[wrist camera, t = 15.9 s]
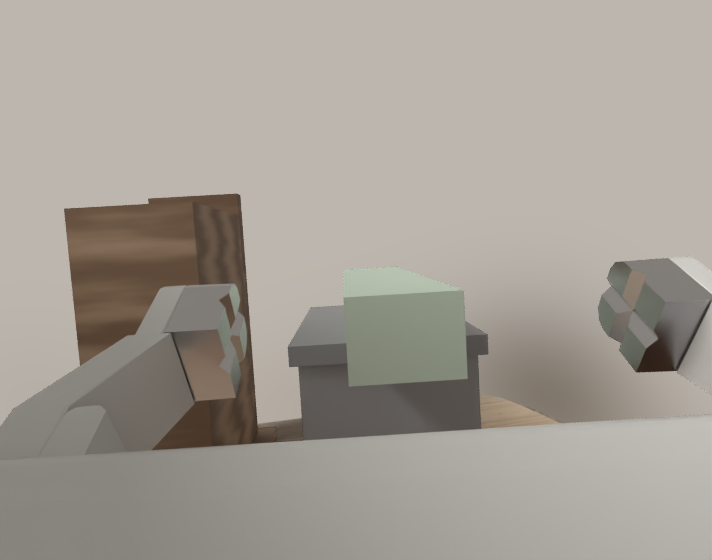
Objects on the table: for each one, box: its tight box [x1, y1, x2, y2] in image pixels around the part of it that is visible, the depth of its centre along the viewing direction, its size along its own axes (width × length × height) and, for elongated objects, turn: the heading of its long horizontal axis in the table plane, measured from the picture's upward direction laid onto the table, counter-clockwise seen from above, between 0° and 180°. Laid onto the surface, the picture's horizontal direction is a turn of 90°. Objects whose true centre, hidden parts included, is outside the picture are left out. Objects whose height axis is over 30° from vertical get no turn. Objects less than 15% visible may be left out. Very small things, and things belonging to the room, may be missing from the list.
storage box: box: [288, 305, 488, 441], centre depth 31 cm, size 15×10×18 cm, turn 1°
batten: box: [344, 267, 468, 387], centre depth 25 cm, size 20×4×3 cm, turn 1°
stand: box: [64, 194, 276, 450], centre depth 46 cm, size 19×14×30 cm
